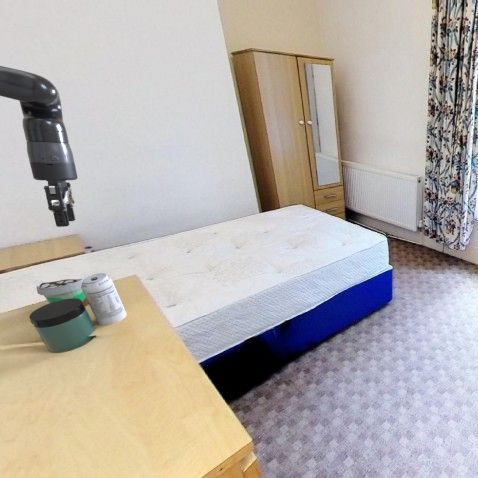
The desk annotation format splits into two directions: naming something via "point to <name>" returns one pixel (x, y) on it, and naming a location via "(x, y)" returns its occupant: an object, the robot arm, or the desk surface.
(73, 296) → the food container
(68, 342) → the jar
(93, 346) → the desk surface
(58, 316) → the jar lid
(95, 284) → the energy drink can
